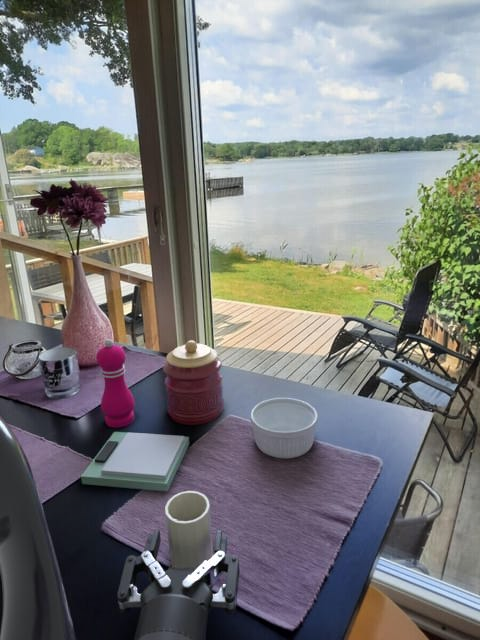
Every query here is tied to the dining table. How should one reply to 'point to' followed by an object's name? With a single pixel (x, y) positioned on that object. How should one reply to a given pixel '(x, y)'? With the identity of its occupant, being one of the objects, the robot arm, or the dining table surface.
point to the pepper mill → (115, 386)
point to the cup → (189, 529)
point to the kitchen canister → (193, 384)
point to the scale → (137, 461)
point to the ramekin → (284, 427)
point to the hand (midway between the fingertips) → (188, 534)
